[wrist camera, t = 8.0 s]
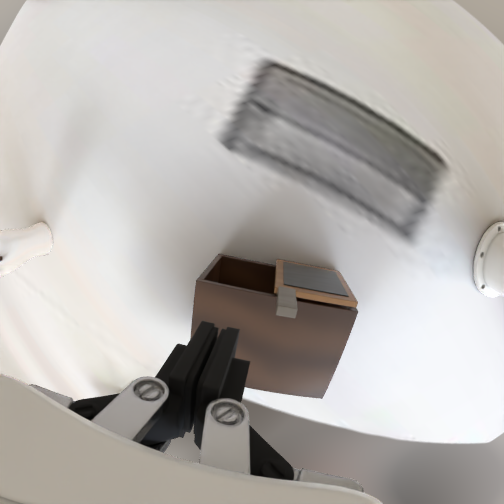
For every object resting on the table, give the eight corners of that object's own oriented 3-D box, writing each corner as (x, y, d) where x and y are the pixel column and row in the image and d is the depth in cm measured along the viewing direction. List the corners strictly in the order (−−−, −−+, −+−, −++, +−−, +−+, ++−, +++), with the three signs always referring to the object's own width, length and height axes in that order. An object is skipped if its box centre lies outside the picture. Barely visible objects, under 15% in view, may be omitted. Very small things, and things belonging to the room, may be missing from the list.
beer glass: (35, 256, 40) (-22, 281, 25) (30, 220, 38) (-31, 237, 23) (57, 257, 39) (-5, 286, 24) (52, 218, 37) (-15, 236, 23)
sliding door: (277, 257, 34) (274, 304, 21) (339, 270, 34) (370, 320, 21) (275, 264, 35) (271, 314, 21) (337, 276, 34) (366, 330, 21)
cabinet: (218, 253, 36) (196, 280, 26) (339, 277, 35) (358, 311, 25) (208, 331, 39) (187, 373, 29) (315, 352, 38) (322, 398, 28)
